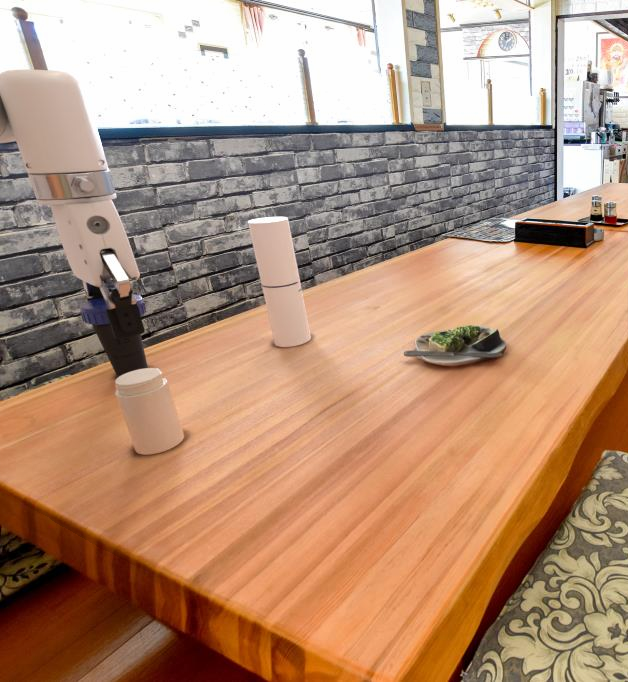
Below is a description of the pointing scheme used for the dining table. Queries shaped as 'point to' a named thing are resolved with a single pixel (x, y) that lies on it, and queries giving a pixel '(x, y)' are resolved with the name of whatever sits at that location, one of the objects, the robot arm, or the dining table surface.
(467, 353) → the salad plate
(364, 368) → the dining table surface
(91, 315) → the lid
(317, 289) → the dining table surface
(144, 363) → the drinking cup
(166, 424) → the jar
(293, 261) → the cylindrical container
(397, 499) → the dining table surface
